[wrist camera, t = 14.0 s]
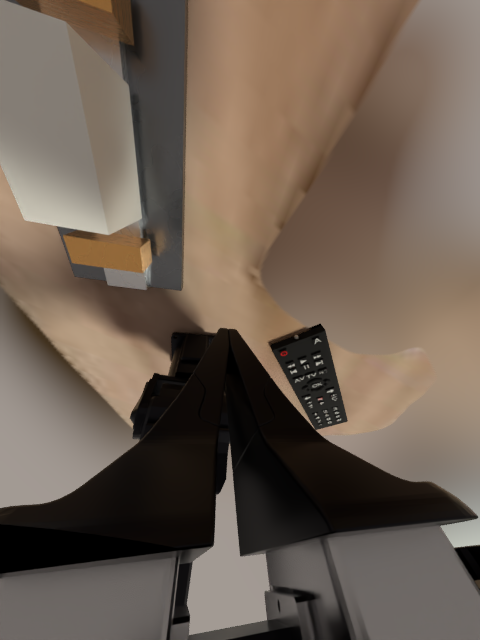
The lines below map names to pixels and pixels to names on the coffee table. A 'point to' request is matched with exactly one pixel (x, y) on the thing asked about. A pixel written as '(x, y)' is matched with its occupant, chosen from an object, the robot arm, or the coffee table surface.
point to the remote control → (312, 376)
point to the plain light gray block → (64, 127)
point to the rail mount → (138, 135)
